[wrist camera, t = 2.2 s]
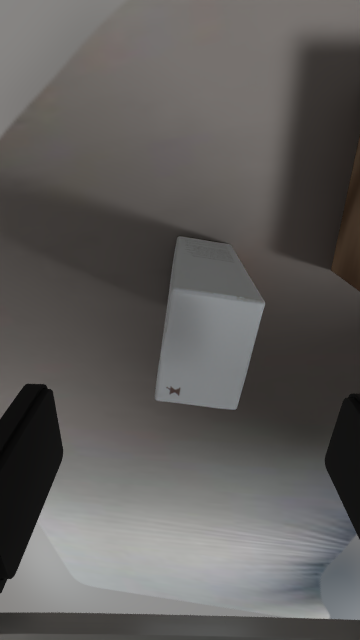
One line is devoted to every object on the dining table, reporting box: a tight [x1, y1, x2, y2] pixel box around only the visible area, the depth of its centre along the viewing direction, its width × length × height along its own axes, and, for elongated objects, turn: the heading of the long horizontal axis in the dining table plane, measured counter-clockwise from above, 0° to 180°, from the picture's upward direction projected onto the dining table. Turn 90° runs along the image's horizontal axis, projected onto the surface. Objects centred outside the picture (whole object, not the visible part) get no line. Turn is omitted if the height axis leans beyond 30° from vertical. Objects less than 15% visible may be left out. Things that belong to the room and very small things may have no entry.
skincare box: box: [155, 236, 265, 410], centre depth 20 cm, size 6×4×12 cm
